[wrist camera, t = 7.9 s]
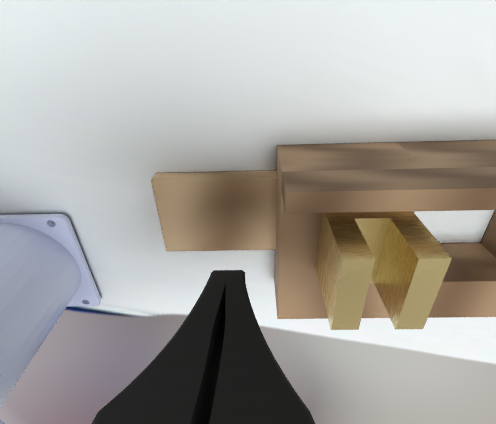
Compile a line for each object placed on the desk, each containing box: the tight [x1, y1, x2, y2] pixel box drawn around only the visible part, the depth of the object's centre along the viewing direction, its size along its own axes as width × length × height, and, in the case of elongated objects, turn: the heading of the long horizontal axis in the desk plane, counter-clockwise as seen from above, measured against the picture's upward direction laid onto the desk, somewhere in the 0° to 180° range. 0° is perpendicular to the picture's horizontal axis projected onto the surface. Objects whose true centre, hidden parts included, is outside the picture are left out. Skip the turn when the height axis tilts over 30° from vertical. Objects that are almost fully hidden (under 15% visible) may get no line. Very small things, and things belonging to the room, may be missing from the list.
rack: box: [151, 140, 496, 319], centre depth 17 cm, size 22×10×6 cm, turn 92°
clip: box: [315, 211, 452, 330], centre depth 14 cm, size 4×4×4 cm
